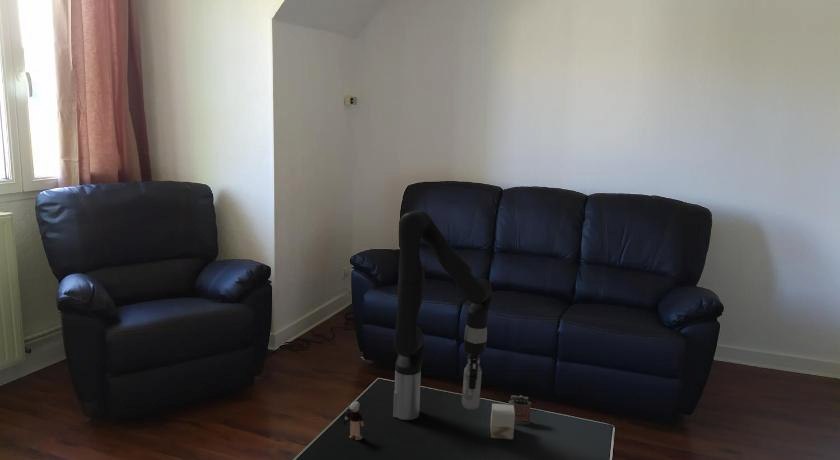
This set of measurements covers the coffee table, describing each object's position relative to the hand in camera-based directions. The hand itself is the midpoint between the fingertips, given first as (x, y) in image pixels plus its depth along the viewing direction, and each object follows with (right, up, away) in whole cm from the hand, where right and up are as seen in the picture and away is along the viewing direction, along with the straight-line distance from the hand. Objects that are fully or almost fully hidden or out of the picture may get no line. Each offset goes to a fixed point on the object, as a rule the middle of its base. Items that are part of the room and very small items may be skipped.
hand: (471, 384), depth 207 cm
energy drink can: (0, -8, +2) cm, 8 cm away
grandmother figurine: (-40, -17, -3) cm, 44 cm away
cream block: (+11, -13, +2) cm, 17 cm away
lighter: (+18, -17, +11) cm, 27 cm away
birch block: (+11, -18, +3) cm, 21 cm away
